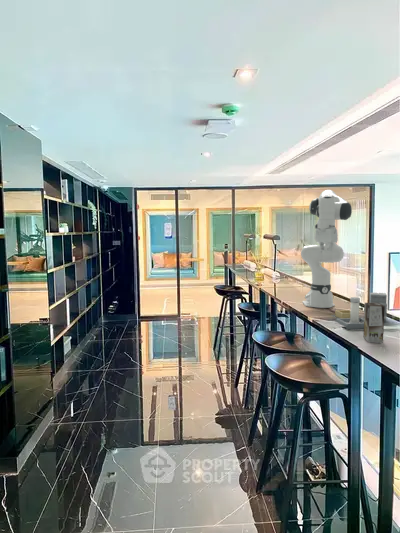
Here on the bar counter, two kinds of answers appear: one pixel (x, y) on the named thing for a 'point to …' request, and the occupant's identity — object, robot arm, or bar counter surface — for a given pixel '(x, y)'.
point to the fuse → (354, 310)
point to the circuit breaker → (379, 301)
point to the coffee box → (374, 322)
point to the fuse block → (342, 314)
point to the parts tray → (351, 324)
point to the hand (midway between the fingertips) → (325, 250)
